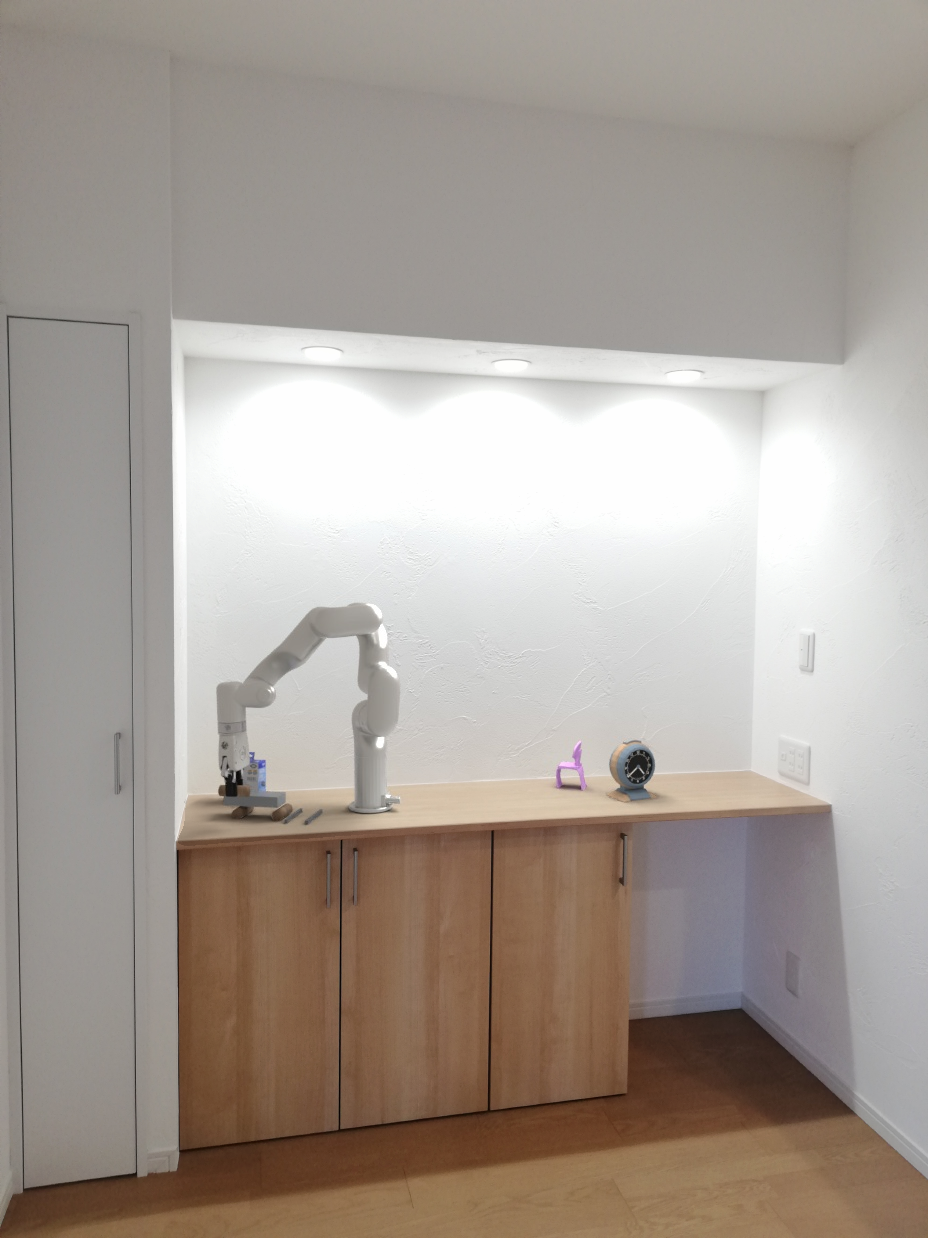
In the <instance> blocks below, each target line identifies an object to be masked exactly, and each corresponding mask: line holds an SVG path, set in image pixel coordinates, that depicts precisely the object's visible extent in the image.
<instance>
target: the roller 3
mask: <svg viewBox="0 0 928 1238" xmlns="http://www.w3.org/2000/svg"><path fill="white" fill-rule="evenodd" d="M292 812H293V805H292V804H290V803H284V804H283V805H281V806H280V807H278V808H276V809H275V810H274V811H272V813H271V819H272V820H273V821H275V822H280V821H281V820H282V819H285V817H286V818H287V817H288V816H290V815H291V814H292Z"/></svg>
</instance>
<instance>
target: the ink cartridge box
mask: <svg viewBox="0 0 928 1238" xmlns="http://www.w3.org/2000/svg"><path fill="white" fill-rule="evenodd" d="M249 755H251V756H249V757H250V763H249V765H248V766H246V767H244V771H243V775H244V776H243V785H248V786H250V788H251V791H267V789H266V787H267V785H266V784H267V781H266V779H267V768H266V767H267V766H266V765H267V762H266V761H267V760H266V759H255V755H256V752H255V751H249ZM228 770H231V769H230V768H229V769H228ZM229 774H231V775H232V773H229Z"/></svg>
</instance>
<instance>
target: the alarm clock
mask: <svg viewBox="0 0 928 1238" xmlns="http://www.w3.org/2000/svg"><path fill="white" fill-rule="evenodd" d="M608 768H609V772H610V774H611V777H612V778H613V780H614V781H615V782H616V783H617V784H618V785H619V787H617V788H616V789H615V790H613V791H611V792H608V793H606V794H605V795H606V796H607V797H609V798H612V799H615V800H617V801H619V802H623V803H631V802H640V801H645V800H646V801H647V800H653V799H659V797H658V796H656V795H655V794H653V793H652V792H650V791H648V790H647V788H645V785H646V784H648V782H650V780H651V779H652V778H653V776H654V773H655V770H656V761H655V757H654V754H653V752H652V751H651V749H650V748H649V747H648V746H647V745H646V744H644V743H642V740H639V739H636V738H628V739H626V740H624V741H622V743H620V744H619V745H617V746H616V747H615V748H614V750H613V751H612V753H611V754H610V758H609V763H608Z"/></svg>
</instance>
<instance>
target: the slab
mask: <svg viewBox="0 0 928 1238" xmlns="http://www.w3.org/2000/svg"><path fill="white" fill-rule="evenodd" d="M222 797H223V806H227V807H229V806H230V807H239V806H247V807H254V808H271V809H272V808H273V809H278V808H280V807H281V806H283V805H284V804H287V803H286V802H287V801H286V797H287V795H286V791H269V790H266V791H251V792H250V795H249V797H227V796H222Z"/></svg>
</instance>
